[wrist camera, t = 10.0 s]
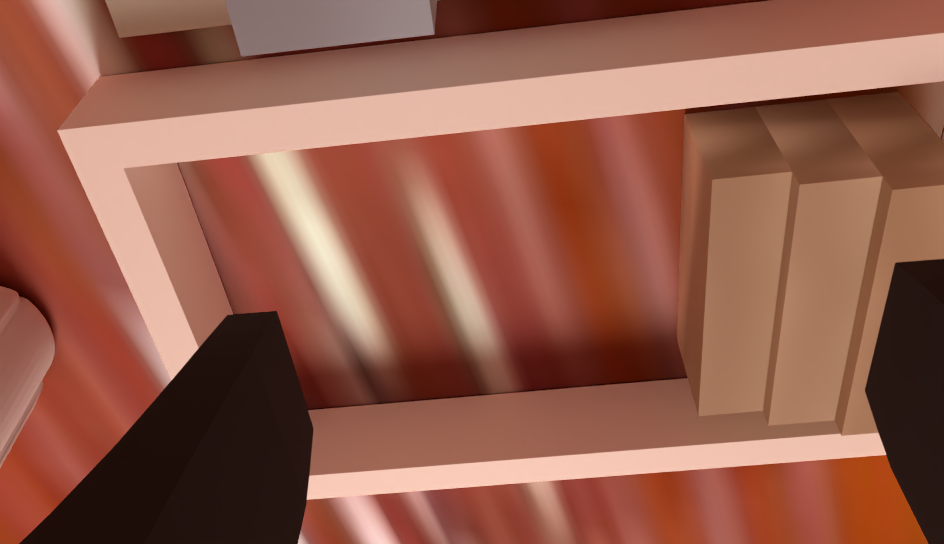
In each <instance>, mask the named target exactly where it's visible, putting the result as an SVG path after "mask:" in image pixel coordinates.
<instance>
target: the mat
mask: <svg viewBox="0 0 944 544" xmlns="http://www.w3.org/2000/svg"><path fill="white" fill-rule="evenodd" d="M105 1H106V4H107V7H108V9H109V12H110V15H111V17H112V20H113V22H114V25H115V28H116V30H117V33H118V36H119V38H123V37H131V36H140V35H149V34H157V33H166V32H174V31H183V30H191V29H200V28H208V27H217V26H225V25H232V24H231V20H230V17H229V14H228V10H227V7H226V3H225V0H105ZM437 1H439V0H437Z"/></svg>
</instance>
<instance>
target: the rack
mask: <svg viewBox="0 0 944 544" xmlns="http://www.w3.org/2000/svg"><path fill="white" fill-rule="evenodd" d="M940 81H944V0H769V1H760V2H751V3H743V4H734V5H725V6H716V7H708V8H699V9H690V10H681V11H673V12H664V13H655V14H646V15H638V16H629V17H620V18H611V19H602V20H594V21H585V22H576V23H567V24H559V25H550V26H541V27H532V28H524V29H515V30H506V31H497V32H488V33H480V34H471V35H462V36H453V37H445V38H436V39H427V40H418V41H410V42H401V43H392V44H383V45H375V46H366V47H357V48H348V49H339V50H331V51H322V52H313V53H304V54H296V55H287V56H278V57H269V58H261V59H252V60H243V61H234V62H226V63H217V64H208V65H199V66H190V67H182V68H173V69H164V70H155V71H147V72H138V73H129V74H120V75H112V76H103V77H99V78H98V80H97V81H96V82H95V83H94V85H93V86H92V87H91V88H90V90H89V91H88V92H87V93H86V95H85V96H84V97H83V98H82V100H81V101H80V102H79V104H78V105H77V106H76V107H75V109H74V110H73V111H72V112H71V114H70V115H69V116H68V117H67V119H66V120H65V121H64V122H63V124H62V125H61V126H60V127H59V129H58V130H57V131H58V133H59V135H60V138H61V140H62V142H63V144H64V146H65V149H66V151H67V153H68V155H69V157H70V159H71V162H72V164H73V166H74V168H75V170H76V173H77V175H78V177H79V179H80V181H81V184H82V186H83V188H84V190H85V192H86V194H87V197H88V199H89V201H90V203H91V205H92V208H93V210H94V212H95V214H96V216H97V218H98V221H99V223H100V225H101V227H102V229H103V232H104V234H105V236H106V238H107V240H108V242H109V245H110V247H111V249H112V251H113V253H114V256H115V258H116V260H117V262H118V264H119V266H120V269H121V271H122V273H123V275H124V277H125V280H126V282H127V284H128V286H129V288H130V290H131V293H132V295H133V297H134V299H135V301H136V304H137V306H138V308H139V310H140V312H141V314H142V317H143V319H144V321H145V323H146V325H147V328H148V330H149V332H150V334H151V336H152V338H153V341H154V343H155V345H156V347H157V349H158V352H159V354H160V356H161V358H162V360H163V362H164V365H165V367H166V369H167V371H168V373H169V376H170V378H171V380H172V379H173V378H174V377H175V376H176V375H177V373H178V372H179V371H180V370H181V369H182V367H183V366H184V365H185V364H186V363H187V361H188V360H189V359H190V358H191V357H192V356H193V354H194V353H195V352H196V351H197V350H198V348H199V347H200V346H201V345H202V344H203V343H204V341H205V340H206V339H207V338H208V337H209V336H210V334H211V333H212V332H213V331H214V330H215V329H216V327H217V326H218V325H219V324H220V323H221V322H222V320H223V319H224V318H225V317H226V316H227V315H233V312H232V309H231V306H230V304H229V301H228V298H227V295H226V293H225V290H224V287H223V285H222V282H221V279H220V277H219V274H218V271H217V269H216V266H215V263H214V261H213V258H212V255H211V253H210V250H209V247H208V245H207V242H206V239H205V237H204V234H203V231H202V229H201V226H200V223H199V221H198V218H197V215H196V212H195V210H194V207H193V204H192V202H191V199H190V196H189V194H188V191H187V188H186V186H185V183H184V180H183V178H182V175H181V172H180V170H179V167H178V164H177V163H178V162H187V161H197V160H206V159H216V158H225V157H234V156H244V155H253V154H263V153H272V152H281V151H291V150H300V149H310V148H319V147H329V146H338V145H347V144H357V143H366V142H376V141H385V140H394V139H404V138H413V137H423V136H432V135H441V134H451V133H460V132H470V131H479V130H489V129H498V128H507V127H517V126H526V125H536V124H545V123H554V122H564V121H573V120H583V119H592V118H602V117H611V116H620V115H630V114H639V113H649V112H658V111H667V110H677V109H686V108H696V107H705V106H715V105H724V104H733V103H743V102H752V101H762V100H771V99H780V98H790V97H799V96H809V95H818V94H828V93H837V92H846V91H856V90H865V89H875V88H884V87H893V86H903V85H912V84H922V83H931V82H940ZM942 141H943V142H944V131H943V136H942ZM308 412H309V415H310V419H311V422H312V425H313V428H314V430H313V441H312V452H311V464H310V474H309V483H308V492H307V500H308V499H321V498H334V497H347V496H360V495H372V494H385V493H398V492H411V491H424V490H437V489H450V488H463V487H476V486H489V485H502V484H515V483H528V482H541V481H553V480H566V479H579V478H592V477H605V476H618V475H631V474H644V473H657V472H670V471H683V470H696V469H709V468H722V467H735V466H747V465H760V464H773V463H786V462H799V461H812V460H825V459H838V458H851V457H864V456H877V455H886V452H885V449H884V447H883V444H882V441H881V438H880V436H879V433H870V434H858V435H845V436H841V434H840V432H839V429H838V427H837V425H836V423H835V420H833V421H820V422H808V423H795V424H783V425H771V426H768V424H767V421H766V418H765V416H764V413H763V411H754V412H742V413H730V414H718V415H705V416H698V413H697V409H696V406H695V402H694V399H693V395H692V392H691V388H690V385H689V381H688V378H683V379H671V380H659V381H647V382H636V383H624V384H612V385H600V386H588V387H577V388H565V389H553V390H541V391H529V392H518V393H506V394H494V395H482V396H470V397H458V398H447V399H435V400H423V401H411V402H399V403H388V404H376V405H364V406H352V407H340V408H329V409H317V410H308Z"/></svg>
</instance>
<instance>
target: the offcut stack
mask: <svg viewBox="0 0 944 544" xmlns="http://www.w3.org/2000/svg"><path fill="white" fill-rule="evenodd" d="M935 259H944V142H943V141H942V140H941V139H940V138H939V136H938V135H937V134H936V133H935V132H934V131H933V130H932V129H931V128H930V126H929V125H928V124H927V123H926V122H925V121H924V120H923V119H922V117H921V116H920V115H919V114H918V113H917V112H916V111H915V110H914V108H913V107H912V106H911V105H910V104H909V103H908V102H907V101H906V99H905V98H904V97H903V96H902V95H901V94H900V93H899V92H890V93H881V94H871V95H862V96H853V97H843V98H834V99H824V100H815V101H805V102H796V103H786V104H777V105H767V106H758V107H749V108H739V109H730V110H720V111H711V112H701V113H692V114H685V115H684V143H683V172H682V201H681V230H680V259H679V288H678V316H677V342H678V346H679V349H680V353H681V356H682V360H683V363H684V367H685V371H686V374H687V378H688V381H689V385H690V388H691V392H692V395H693V399H694V402H695V406H696V409H697V413H698V416H705V415H718V414H730V413H742V412H754V411H763V413H764V416H765V418H766V421H767V424H768V426H771V425H783V424H795V423H808V422H820V421H833V420H835V423H836V425H837V427H838V429H839V432H840V434H841V436H845V435H858V434H870V433H878V430H877V427H876V424H875V421H874V418H873V414H872V411H871V408H870V405H869V402H868V399H867V396H866V393H865V387H866V383H867V379H868V375H869V370H870V366H871V362H872V358H873V354H874V349H875V345H876V341H877V337H878V333H879V328H880V324H881V320H882V316H883V312H884V308H885V303H886V299H887V295H888V291H889V287H890V282H891V278H892V274H893V270H894V266H895V263H896V262H909V261H922V260H935Z"/></svg>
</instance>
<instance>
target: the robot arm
mask: <svg viewBox="0 0 944 544" xmlns="http://www.w3.org/2000/svg"><path fill="white" fill-rule="evenodd" d="M865 393H866V396H867V399H868V402H869V405H870V408H871V411H872V414H873V418H874V421H875V424H876V427H877V430H878V433H879V436H880V438H881V441H882V444H883V447H884V449H885V452H886V455H887V458H888V461H889V463H890V466H891V469H892V471H893V473H894V475H895V477H896V479H897V481H898V483H899V485H900V487H901V489H902V491H903V493H904V495H905V497H906V499H907V501H908V503H909V505H910V507H911V509H912V511H913V513H914V515H915V517H916V519H917V521H918V523H919V525H920V527H921V530H922V531H923V533H924V535H925V537H926V539H927V541H928V543H929V544H944V259H935V260H922V261H909V262H896V263H895V266H894V270H893V274H892V278H891V282H890V287H889V291H888V295H887V299H886V303H885V308H884V312H883V316H882V320H881V324H880V328H879V333H878V337H877V341H876V345H875V349H874V354H873V358H872V362H871V366H870V370H869V375H868V379H867V383H866V387H865ZM313 430H314V428H313V425H312V422H311V419H310V415H309V412H308V409H307V406H306V403H305V399H304V396H303V393H302V390H301V387H300V384H299V380H298V377H297V374H296V371H295V368H294V365H293V361H292V358H291V355H290V352H289V349H288V345H287V342H286V339H285V336H284V333H283V330H282V326H281V323H280V320H279V317H278V314H277V311H272V312H259V313H246V314H233V315H227V316H226V317H225V318H224V319H223V320H222V322H221V323H220V324H219V325H218V326H217V327H216V329H215V330H214V331H213V332H212V333H211V334H210V336H209V337H208V338H207V339H206V340H205V341H204V343H203V344H202V345H201V346H200V347H199V348H198V350H197V351H196V352H195V353H194V354H193V356H192V357H191V358H190V359H189V360H188V361H187V363H186V364H185V365H184V366H183V367H182V369H181V370H180V371H179V372H178V373H177V375H176V376H175V377H174V378H173V379H172V381H171V382H170V383H169V384H168V385H167V386H166V388H165V389H164V390H163V391H162V392H161V394H160V395H159V396H158V397H157V398H156V399H155V401H154V402H153V403H152V404H151V405H150V406H149V408H148V409H147V410H146V411H145V412H144V413H143V414H142V416H141V417H140V418H139V419H138V420H137V421H136V422H135V423H134V425H133V426H132V427H131V428H130V429H129V430H128V431H127V433H126V434H125V435H124V436H123V437H122V438H121V439H120V441H119V442H118V443H117V444H116V445H115V446H114V447H113V449H112V450H111V451H110V452H109V453H108V454H107V455H106V456H105V457H104V458H103V459H102V460H101V461H100V462H99V463H98V464H97V465H96V466H95V467H94V469H93V470H92V471H91V472H90V473H89V474H88V475H87V476H86V477H85V478H84V479H83V480H82V481H81V482H80V483H79V484H78V485H77V486H76V487H75V488H74V490H73V491H72V492H71V493H70V494H69V495H68V496H67V497H66V498H65V499H64V500H63V501H62V502H61V503H60V504H59V505H58V506H57V507H56V508H55V509H54V511H53V512H52V513H51V514H50V515H49V516H48V517H46V518H45V519H44V520H43V521H42V522H41V523H40V524H39V525H38V526H37V527H36V528H35V529H34V530H33V531H32V532H31V533H30V534H29V535H28V536H27V537H26V538H25V539H24V540H23V541H22V542H21V543H19V544H298V539H299V535H300V530H301V526H302V521H303V517H304V512H305V507H306V501H307V492H308V483H309V474H310V464H311V452H312V441H313Z"/></svg>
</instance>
